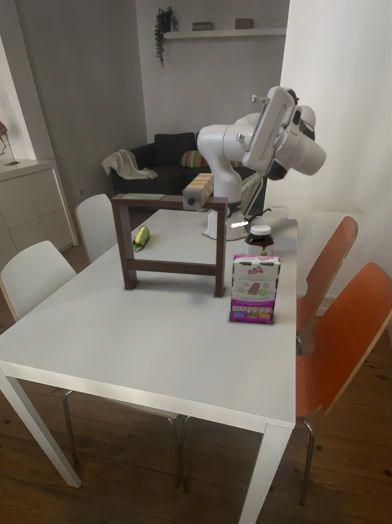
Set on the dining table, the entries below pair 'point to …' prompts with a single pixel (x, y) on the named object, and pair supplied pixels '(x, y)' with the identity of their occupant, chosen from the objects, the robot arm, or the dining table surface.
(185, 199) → the light wood square bar
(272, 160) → the robot arm
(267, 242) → the spread jar
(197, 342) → the dining table surface
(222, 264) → the dark brown wooden frame
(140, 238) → the edible corn
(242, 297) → the candy bar box
